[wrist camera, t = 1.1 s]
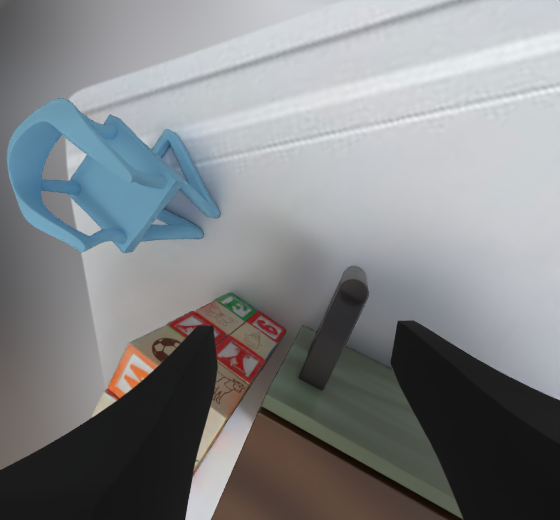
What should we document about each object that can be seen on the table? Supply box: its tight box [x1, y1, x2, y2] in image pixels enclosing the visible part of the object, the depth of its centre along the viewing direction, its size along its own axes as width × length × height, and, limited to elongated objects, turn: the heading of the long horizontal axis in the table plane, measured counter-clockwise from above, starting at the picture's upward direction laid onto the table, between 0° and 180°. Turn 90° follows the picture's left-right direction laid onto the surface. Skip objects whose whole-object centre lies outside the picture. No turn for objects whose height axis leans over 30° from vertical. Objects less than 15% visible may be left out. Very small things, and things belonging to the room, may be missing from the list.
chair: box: [7, 98, 220, 253], centre depth 21 cm, size 8×8×12 cm
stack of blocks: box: [91, 293, 286, 478], centre depth 22 cm, size 21×6×12 cm, turn 150°
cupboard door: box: [262, 266, 463, 519], centre depth 18 cm, size 8×15×10 cm, turn 69°
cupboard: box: [211, 405, 463, 520], centre depth 20 cm, size 10×15×11 cm
